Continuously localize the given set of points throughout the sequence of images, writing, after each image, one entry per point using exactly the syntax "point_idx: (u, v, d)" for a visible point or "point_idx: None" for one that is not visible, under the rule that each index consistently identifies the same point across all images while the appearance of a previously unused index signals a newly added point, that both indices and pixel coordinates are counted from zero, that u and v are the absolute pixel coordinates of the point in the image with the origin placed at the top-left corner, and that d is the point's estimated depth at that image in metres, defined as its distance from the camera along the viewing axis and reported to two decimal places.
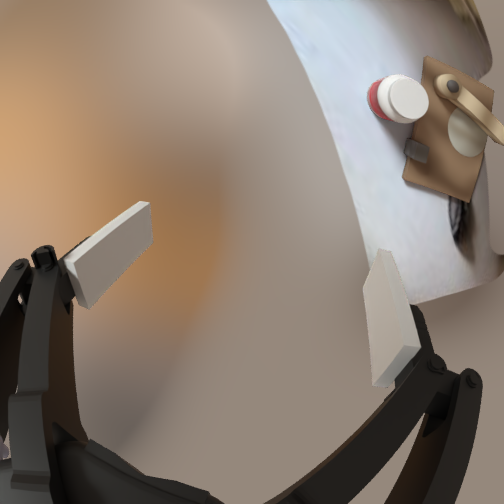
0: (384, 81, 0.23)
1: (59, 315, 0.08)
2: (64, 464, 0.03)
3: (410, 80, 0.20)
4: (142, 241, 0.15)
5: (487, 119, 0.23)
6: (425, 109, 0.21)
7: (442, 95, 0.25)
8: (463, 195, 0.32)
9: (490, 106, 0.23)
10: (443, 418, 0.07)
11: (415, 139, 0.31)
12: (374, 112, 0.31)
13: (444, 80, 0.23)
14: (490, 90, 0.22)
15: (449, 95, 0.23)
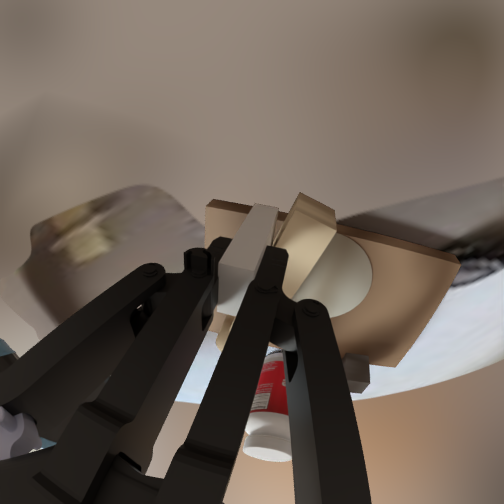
0: None
1: (190, 334, 0.09)
2: None
3: (244, 451, 0.20)
4: None
5: None
6: (277, 451, 0.18)
7: None
8: (444, 280, 0.17)
9: None
10: None
11: None
12: None
13: None
14: (209, 217, 0.19)
15: None
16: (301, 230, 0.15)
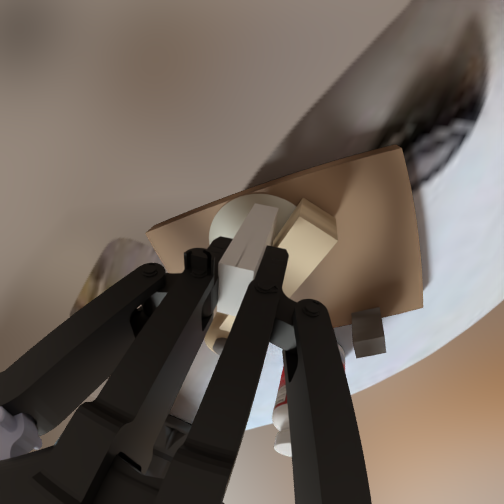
0: None
1: (190, 334, 0.09)
2: None
3: None
4: None
5: None
6: None
7: None
8: (396, 177, 0.15)
9: (174, 227, 0.20)
10: None
11: (350, 323, 0.21)
12: None
13: None
14: (152, 240, 0.22)
15: None
16: (303, 237, 0.15)
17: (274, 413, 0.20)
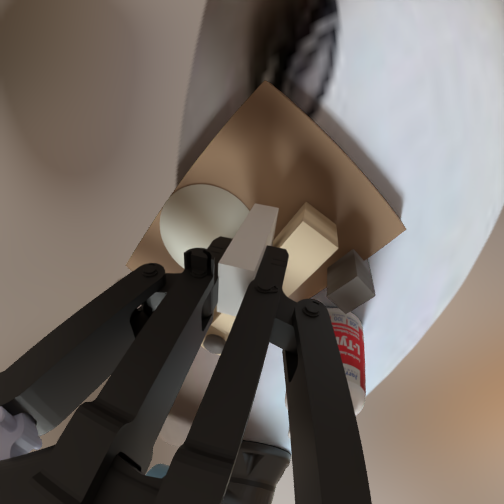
0: None
1: (190, 334, 0.09)
2: None
3: None
4: None
5: None
6: None
7: None
8: (277, 108, 0.14)
9: (140, 250, 0.22)
10: None
11: None
12: (363, 338, 0.22)
13: None
14: (132, 269, 0.24)
15: None
16: (304, 241, 0.15)
17: None
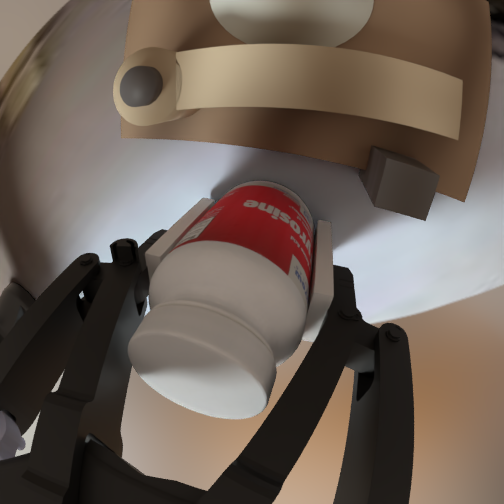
0: None
1: (128, 317, 0.09)
2: None
3: (136, 367, 0.08)
4: None
5: (333, 83, 0.08)
6: (209, 353, 0.06)
7: None
8: (479, 16, 0.05)
9: None
10: None
11: (361, 166, 0.12)
12: None
13: None
14: None
15: (149, 119, 0.10)
16: (442, 92, 0.07)
17: (161, 263, 0.09)
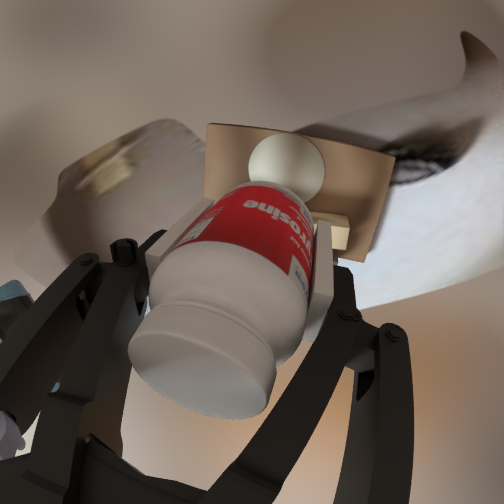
0: None
1: (128, 317, 0.09)
2: None
3: (136, 367, 0.08)
4: None
5: None
6: (209, 353, 0.06)
7: None
8: (384, 171, 0.25)
9: (234, 130, 0.26)
10: None
11: None
12: None
13: None
14: (209, 131, 0.27)
15: None
16: (339, 234, 0.26)
17: (161, 263, 0.09)
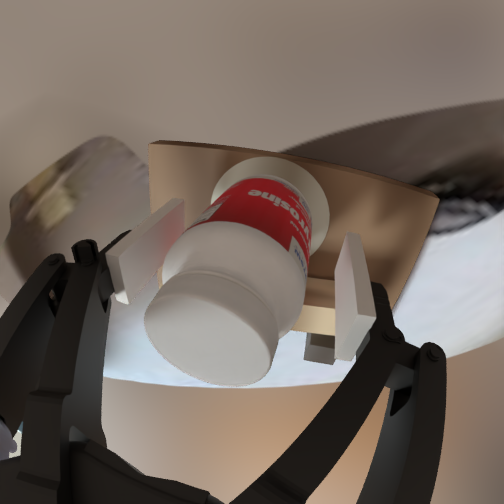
0: None
1: (94, 314, 0.09)
2: (64, 464, 0.03)
3: (150, 336, 0.09)
4: (176, 237, 0.16)
5: None
6: (221, 312, 0.08)
7: None
8: (421, 219, 0.15)
9: (186, 152, 0.17)
10: (410, 394, 0.08)
11: None
12: None
13: None
14: (152, 154, 0.17)
15: None
16: None
17: (175, 242, 0.10)
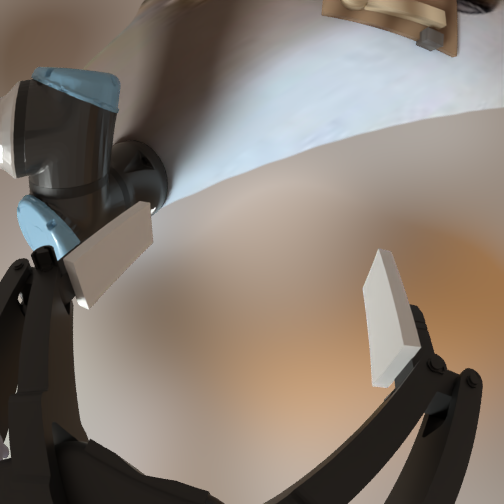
0: None
1: (59, 315, 0.08)
2: (64, 464, 0.03)
3: None
4: (142, 241, 0.15)
5: (411, 7, 0.17)
6: None
7: (353, 7, 0.21)
8: None
9: None
10: (443, 418, 0.07)
11: (418, 37, 0.22)
12: None
13: None
14: None
15: (357, 2, 0.19)
16: (439, 13, 0.16)
17: None
